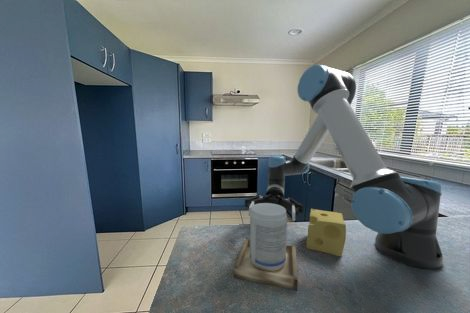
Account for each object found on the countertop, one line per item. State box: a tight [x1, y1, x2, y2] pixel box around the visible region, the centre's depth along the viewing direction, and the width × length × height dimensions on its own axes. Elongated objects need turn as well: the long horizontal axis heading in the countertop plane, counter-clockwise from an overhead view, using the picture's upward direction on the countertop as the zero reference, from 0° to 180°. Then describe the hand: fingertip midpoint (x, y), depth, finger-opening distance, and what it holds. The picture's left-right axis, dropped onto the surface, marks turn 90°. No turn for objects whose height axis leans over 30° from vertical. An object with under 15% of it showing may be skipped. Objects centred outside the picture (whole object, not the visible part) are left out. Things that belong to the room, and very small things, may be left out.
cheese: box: [305, 208, 347, 257], centre depth 62 cm, size 10×11×10 cm
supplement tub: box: [249, 203, 288, 271], centre depth 52 cm, size 10×10×15 cm
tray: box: [233, 237, 299, 291], centre depth 52 cm, size 15×15×2 cm
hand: (271, 214), depth 60 cm, fingers open, 13 cm apart
